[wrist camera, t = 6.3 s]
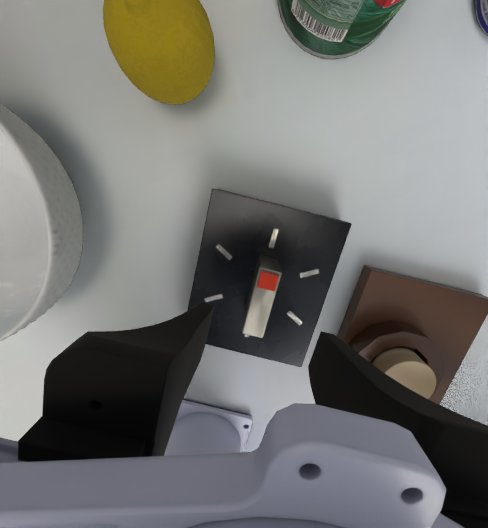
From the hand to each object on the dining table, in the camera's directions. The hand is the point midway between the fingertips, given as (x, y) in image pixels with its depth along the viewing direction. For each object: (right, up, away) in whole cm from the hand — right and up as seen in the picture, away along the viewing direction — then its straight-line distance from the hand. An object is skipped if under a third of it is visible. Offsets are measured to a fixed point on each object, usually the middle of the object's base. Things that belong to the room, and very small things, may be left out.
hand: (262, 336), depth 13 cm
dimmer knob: (0, +2, +7) cm, 7 cm away
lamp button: (+11, -5, +8) cm, 14 cm away
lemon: (-5, +17, +6) cm, 19 cm away
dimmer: (0, +3, +10) cm, 10 cm away
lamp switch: (+12, -3, +11) cm, 17 cm away
